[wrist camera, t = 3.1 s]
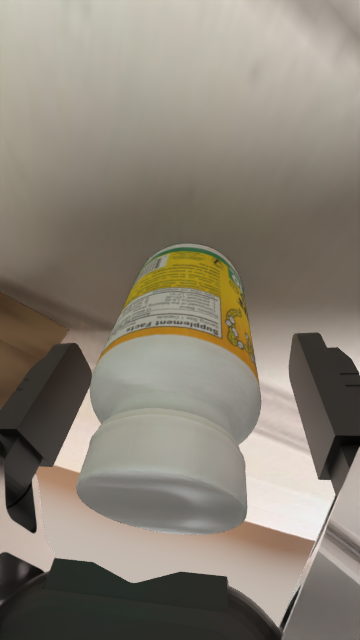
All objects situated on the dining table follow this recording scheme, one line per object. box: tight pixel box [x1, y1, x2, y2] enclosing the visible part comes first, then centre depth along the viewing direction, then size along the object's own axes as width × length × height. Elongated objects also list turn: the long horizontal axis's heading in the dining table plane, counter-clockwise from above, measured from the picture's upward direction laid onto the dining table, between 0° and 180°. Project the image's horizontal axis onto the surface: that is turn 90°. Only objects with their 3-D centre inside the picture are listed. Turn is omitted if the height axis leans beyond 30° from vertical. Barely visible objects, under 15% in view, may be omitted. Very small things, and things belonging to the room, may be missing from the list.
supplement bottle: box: [76, 244, 261, 535], centre depth 10 cm, size 5×5×10 cm
